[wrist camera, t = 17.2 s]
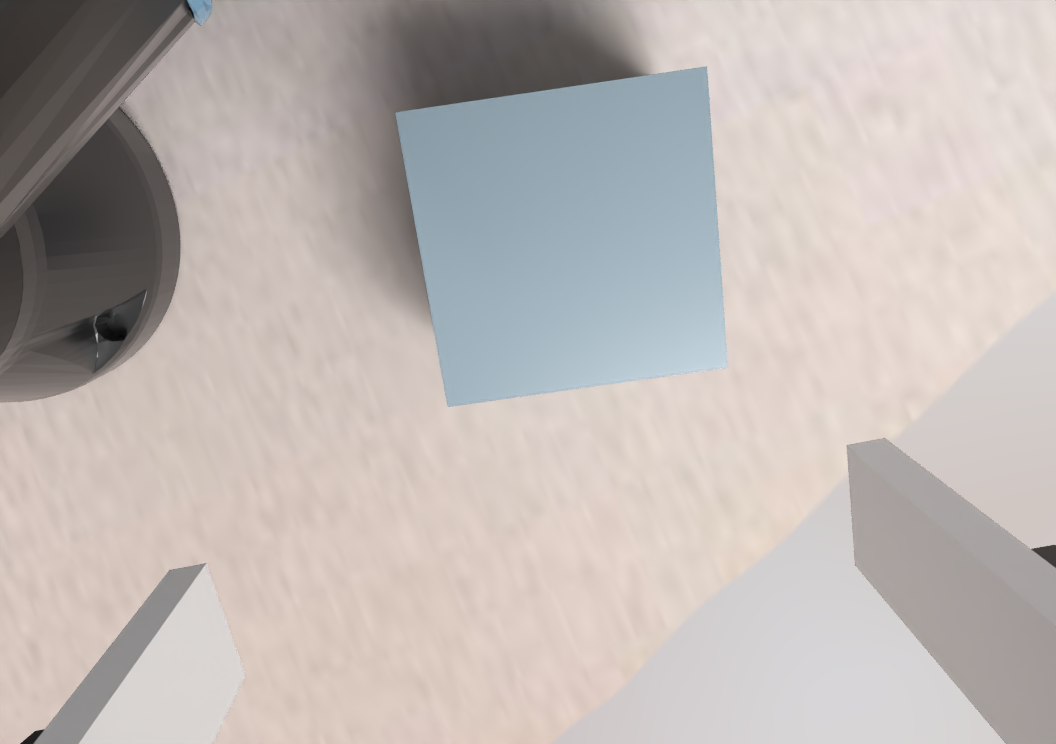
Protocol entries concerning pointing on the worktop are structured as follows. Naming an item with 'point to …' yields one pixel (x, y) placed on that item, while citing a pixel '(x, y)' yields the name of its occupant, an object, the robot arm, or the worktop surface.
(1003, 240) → the worktop surface
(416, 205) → the slate gray cube
